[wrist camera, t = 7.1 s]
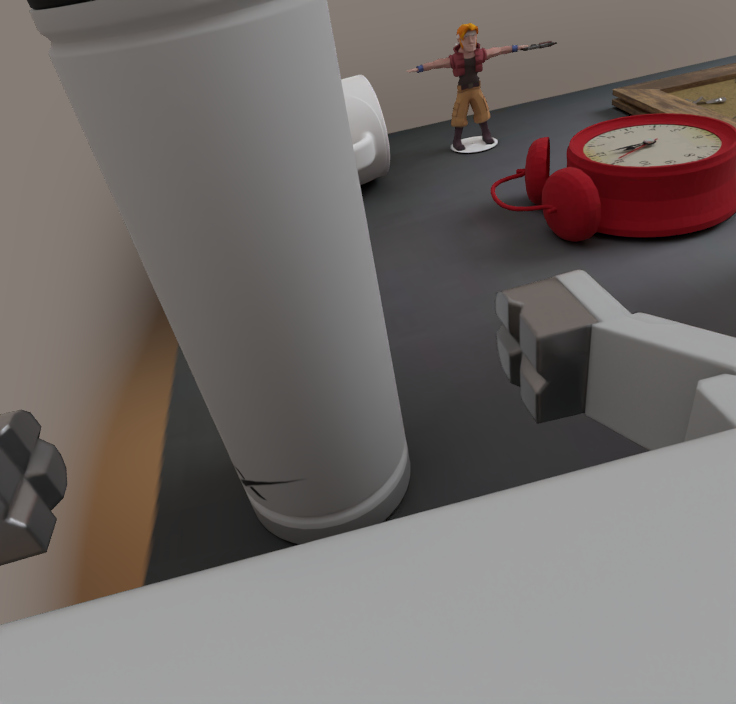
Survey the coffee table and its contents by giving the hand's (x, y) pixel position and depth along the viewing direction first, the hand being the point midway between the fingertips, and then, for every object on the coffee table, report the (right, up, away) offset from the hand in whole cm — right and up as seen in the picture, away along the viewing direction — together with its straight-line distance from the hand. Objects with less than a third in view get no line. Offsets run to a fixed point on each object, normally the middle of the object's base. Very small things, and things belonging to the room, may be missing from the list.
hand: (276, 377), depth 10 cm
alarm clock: (+17, +9, +26) cm, 33 cm away
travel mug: (0, -5, +12) cm, 13 cm away
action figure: (+12, +18, +40) cm, 46 cm away
